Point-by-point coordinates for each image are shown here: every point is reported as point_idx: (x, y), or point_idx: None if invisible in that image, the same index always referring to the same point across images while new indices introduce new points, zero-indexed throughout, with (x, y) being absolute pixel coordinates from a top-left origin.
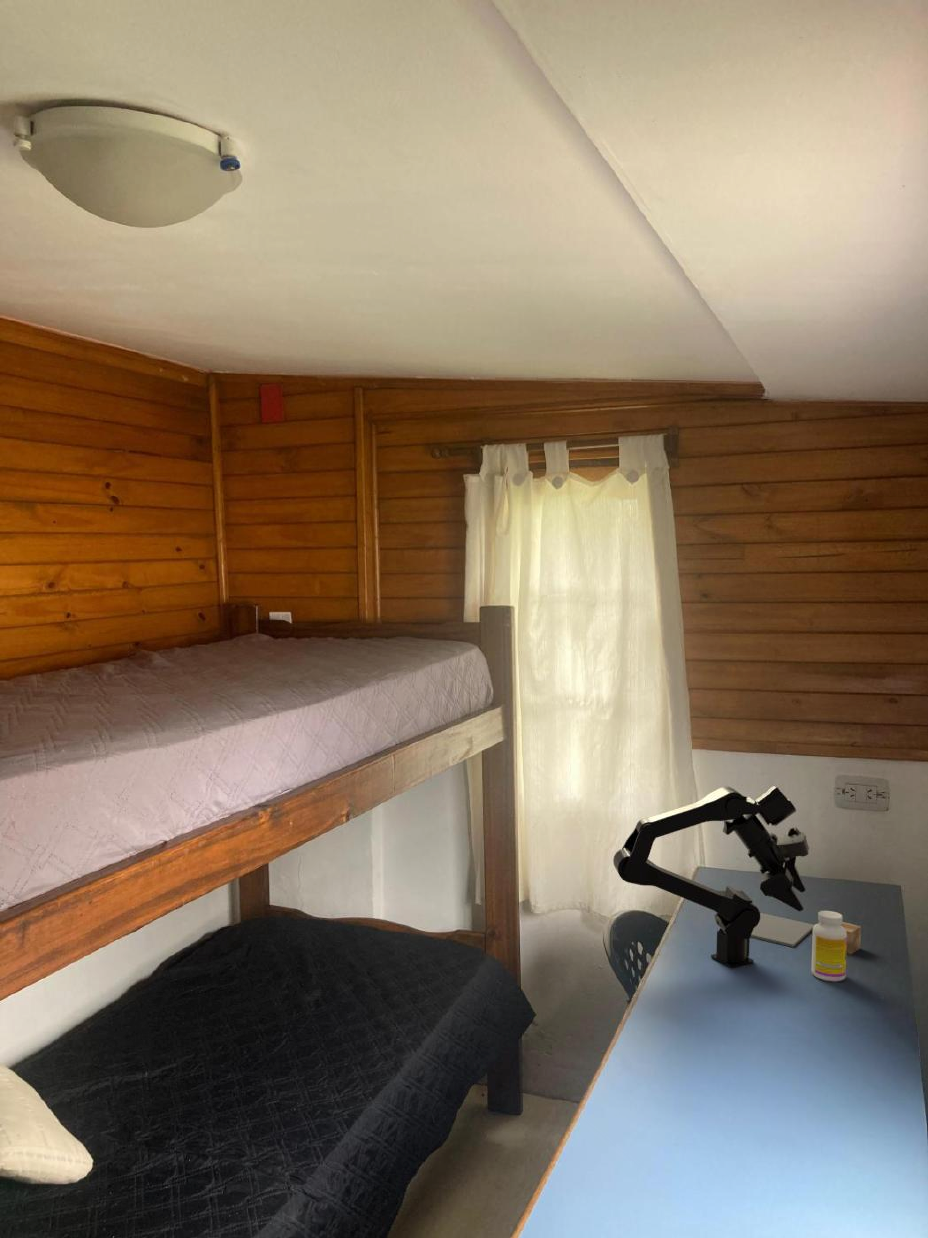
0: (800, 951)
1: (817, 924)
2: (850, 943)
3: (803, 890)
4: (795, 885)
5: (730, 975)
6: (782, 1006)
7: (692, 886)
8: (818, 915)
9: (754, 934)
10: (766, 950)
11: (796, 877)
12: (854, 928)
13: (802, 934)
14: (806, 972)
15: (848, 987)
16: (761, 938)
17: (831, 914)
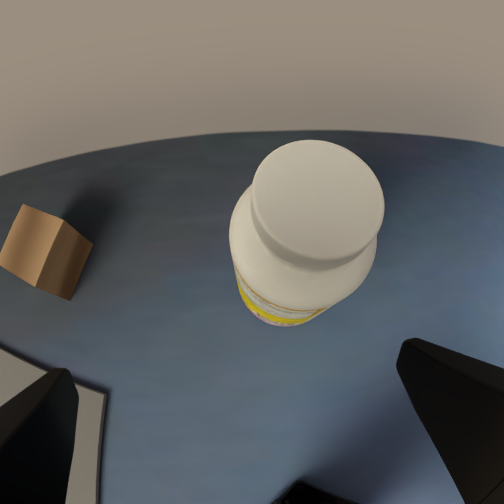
0: (125, 374)
1: (321, 279)
2: (78, 234)
3: (70, 384)
4: (63, 455)
5: (404, 491)
6: (497, 339)
7: None
8: (349, 257)
9: (89, 491)
10: (170, 464)
11: (15, 466)
12: (36, 216)
13: (26, 367)
14: (288, 341)
15: None
16: (97, 475)
17: (317, 186)
